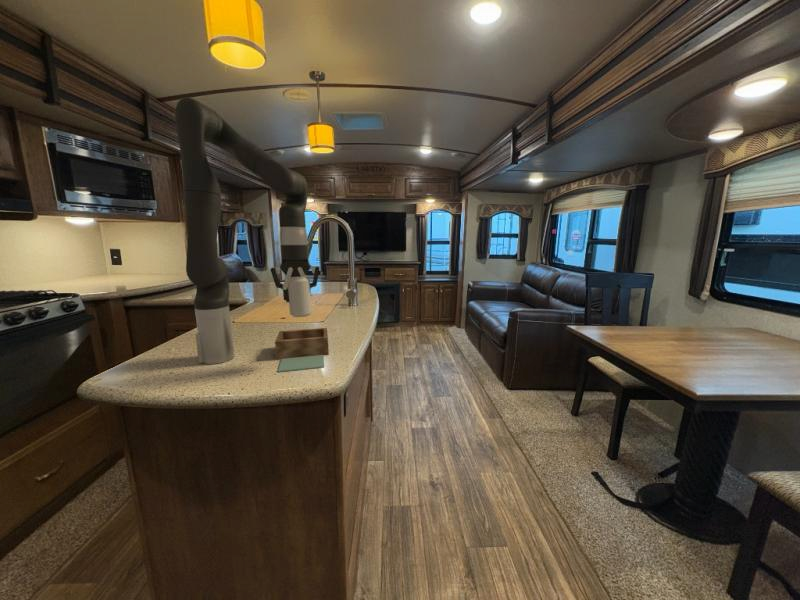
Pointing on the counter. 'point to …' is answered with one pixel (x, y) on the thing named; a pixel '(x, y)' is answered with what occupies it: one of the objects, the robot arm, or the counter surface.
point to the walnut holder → (301, 343)
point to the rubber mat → (301, 363)
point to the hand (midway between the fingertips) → (297, 301)
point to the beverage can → (299, 296)
